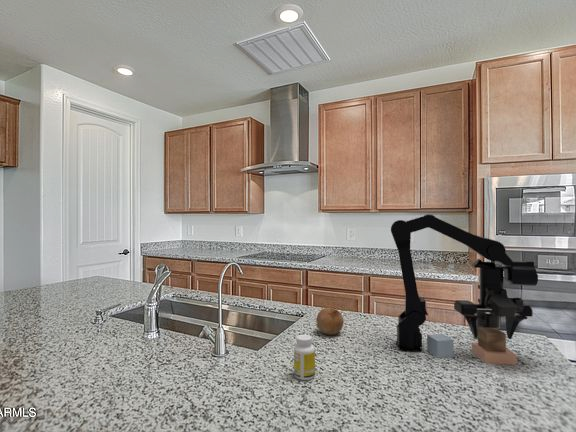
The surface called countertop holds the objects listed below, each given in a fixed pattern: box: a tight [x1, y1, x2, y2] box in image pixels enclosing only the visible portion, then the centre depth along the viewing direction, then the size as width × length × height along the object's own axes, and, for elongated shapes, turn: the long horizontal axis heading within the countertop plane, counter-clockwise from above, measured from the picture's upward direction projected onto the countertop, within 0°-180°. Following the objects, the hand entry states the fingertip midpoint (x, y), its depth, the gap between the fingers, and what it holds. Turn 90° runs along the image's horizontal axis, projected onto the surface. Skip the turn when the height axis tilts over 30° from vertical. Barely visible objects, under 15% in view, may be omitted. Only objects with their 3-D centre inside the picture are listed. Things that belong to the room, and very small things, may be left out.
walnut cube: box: [477, 327, 507, 352], centre depth 91 cm, size 5×5×5 cm
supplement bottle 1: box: [293, 334, 316, 381], centre depth 81 cm, size 5×5×10 cm
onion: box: [315, 307, 345, 336], centre depth 111 cm, size 10×9×10 cm
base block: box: [471, 341, 517, 365], centre depth 91 cm, size 8×8×3 cm
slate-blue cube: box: [426, 333, 454, 359], centre depth 94 cm, size 5×5×5 cm
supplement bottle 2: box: [475, 302, 501, 339], centre depth 105 cm, size 7×7×12 cm
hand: (492, 338), depth 91 cm, fingers open, 9 cm apart
